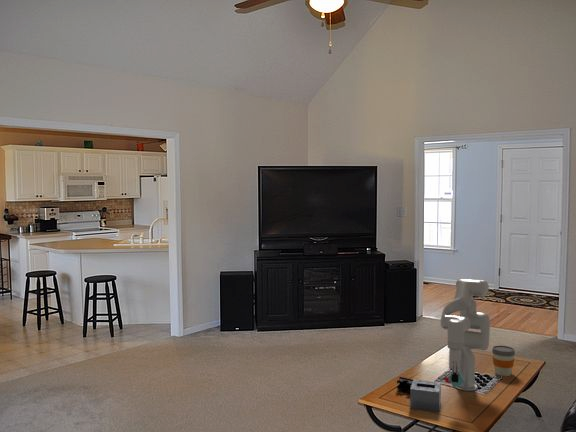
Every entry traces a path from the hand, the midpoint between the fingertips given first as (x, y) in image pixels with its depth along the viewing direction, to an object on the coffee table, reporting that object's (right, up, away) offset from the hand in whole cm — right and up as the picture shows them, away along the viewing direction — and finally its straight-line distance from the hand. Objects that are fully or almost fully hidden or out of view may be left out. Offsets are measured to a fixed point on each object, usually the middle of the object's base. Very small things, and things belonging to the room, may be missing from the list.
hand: (454, 380), depth 264 cm
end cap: (-18, -14, +27) cm, 35 cm away
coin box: (-13, -15, +8) cm, 21 cm away
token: (+2, -2, -1) cm, 3 cm away
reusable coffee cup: (+46, -12, +53) cm, 71 cm away
